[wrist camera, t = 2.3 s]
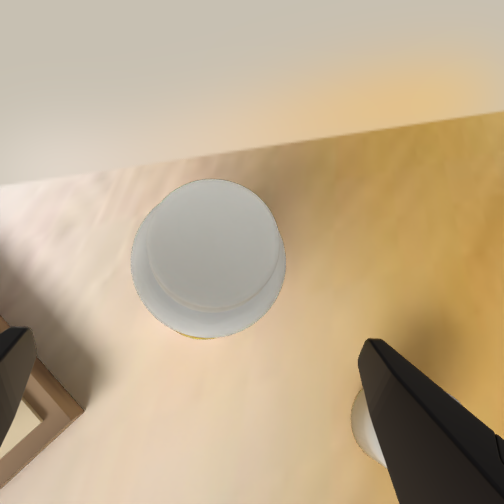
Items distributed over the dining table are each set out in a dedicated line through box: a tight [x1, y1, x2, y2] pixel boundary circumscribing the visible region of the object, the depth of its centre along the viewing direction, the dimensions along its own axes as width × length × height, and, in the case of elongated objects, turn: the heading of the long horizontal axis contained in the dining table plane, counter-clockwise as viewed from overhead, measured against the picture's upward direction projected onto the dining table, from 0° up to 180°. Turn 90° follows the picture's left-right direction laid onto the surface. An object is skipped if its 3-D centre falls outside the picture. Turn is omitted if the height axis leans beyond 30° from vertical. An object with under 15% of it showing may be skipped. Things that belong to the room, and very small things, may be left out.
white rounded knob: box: [351, 388, 461, 468], centre depth 18 cm, size 4×4×4 cm
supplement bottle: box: [131, 179, 286, 340], centre depth 15 cm, size 6×6×10 cm
